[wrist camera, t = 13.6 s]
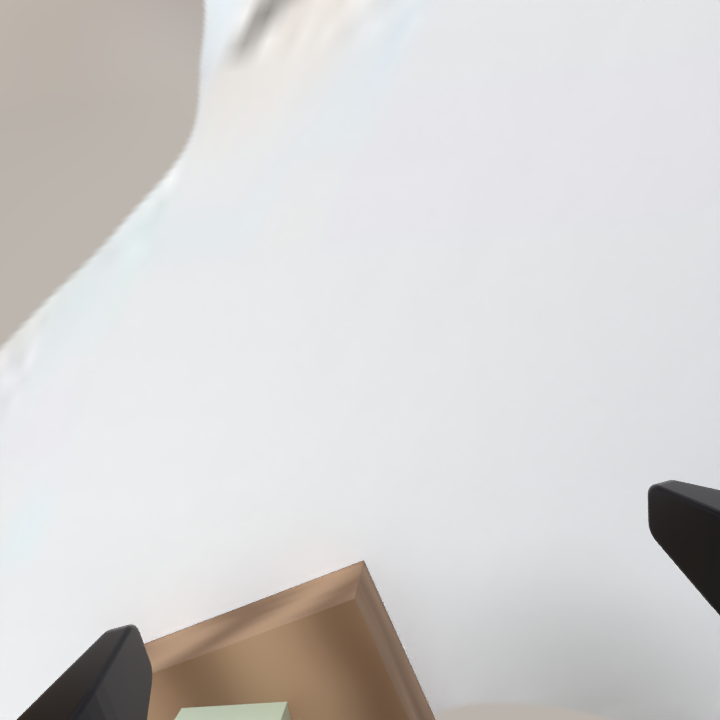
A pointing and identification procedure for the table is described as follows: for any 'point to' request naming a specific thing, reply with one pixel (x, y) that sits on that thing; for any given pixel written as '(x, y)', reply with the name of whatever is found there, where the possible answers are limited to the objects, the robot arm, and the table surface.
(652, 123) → the table surface
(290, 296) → the table surface
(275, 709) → the block
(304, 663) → the plinth
